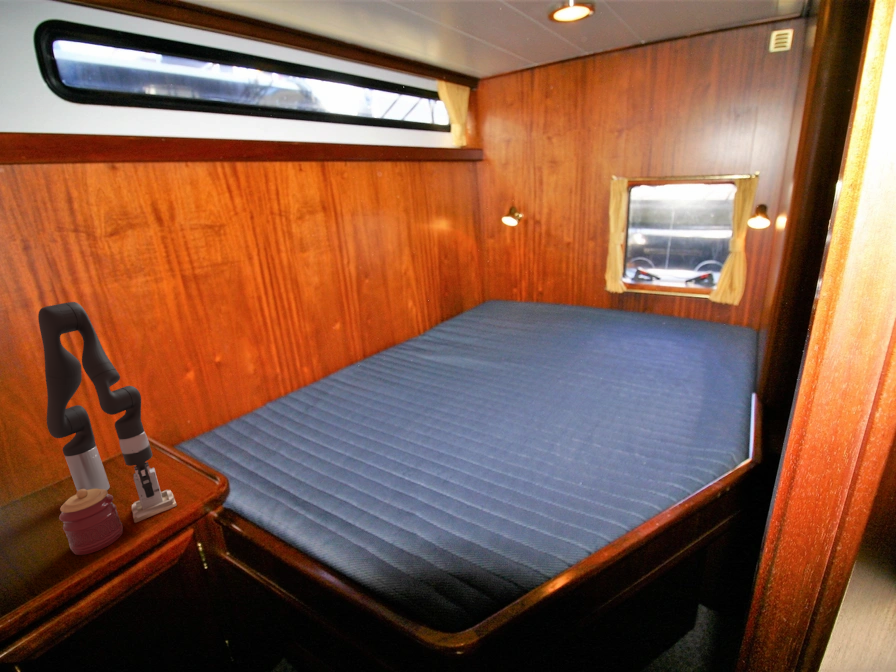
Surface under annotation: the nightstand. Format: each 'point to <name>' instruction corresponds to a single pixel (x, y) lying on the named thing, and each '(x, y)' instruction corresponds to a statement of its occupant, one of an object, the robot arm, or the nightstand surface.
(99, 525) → the canister
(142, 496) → the skincare box
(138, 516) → the white shallow tray
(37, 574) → the nightstand surface
